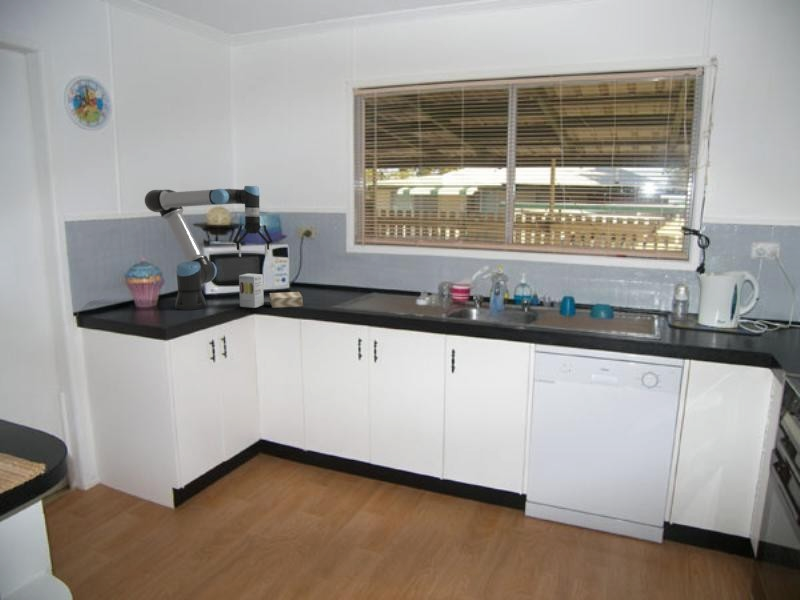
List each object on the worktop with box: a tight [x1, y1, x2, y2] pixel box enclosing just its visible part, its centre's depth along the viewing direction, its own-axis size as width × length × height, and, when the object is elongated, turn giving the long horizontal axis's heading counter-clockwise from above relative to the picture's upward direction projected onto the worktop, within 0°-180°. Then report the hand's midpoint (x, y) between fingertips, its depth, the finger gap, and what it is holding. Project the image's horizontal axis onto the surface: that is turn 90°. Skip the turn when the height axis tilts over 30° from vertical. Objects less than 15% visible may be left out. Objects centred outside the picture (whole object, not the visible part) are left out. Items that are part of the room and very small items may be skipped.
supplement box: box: [238, 273, 265, 309], centre depth 300 cm, size 10×9×17 cm
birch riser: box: [269, 291, 304, 309], centre depth 307 cm, size 16×16×5 cm
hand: (253, 256), depth 300 cm, fingers open, 13 cm apart
